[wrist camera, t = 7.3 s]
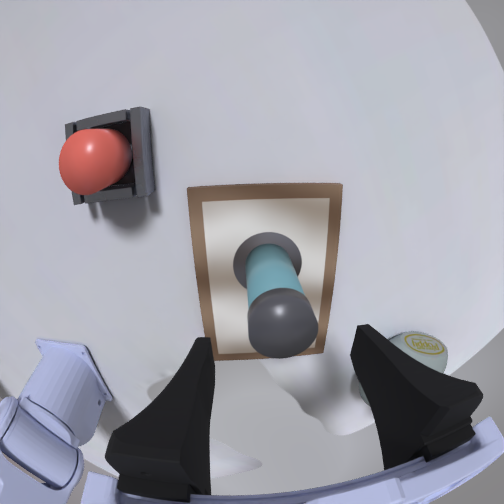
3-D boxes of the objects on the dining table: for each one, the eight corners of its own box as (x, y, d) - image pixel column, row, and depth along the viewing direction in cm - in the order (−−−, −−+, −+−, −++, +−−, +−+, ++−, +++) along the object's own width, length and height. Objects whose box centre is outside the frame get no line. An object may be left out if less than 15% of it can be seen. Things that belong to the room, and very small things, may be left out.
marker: (290, 283, 22) (314, 355, 15) (244, 286, 22) (249, 360, 14) (292, 241, 21) (322, 302, 13) (243, 243, 20) (247, 307, 13)
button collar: (154, 190, 19) (146, 196, 17) (86, 198, 19) (73, 204, 17) (149, 108, 17) (140, 106, 15) (78, 124, 17) (65, 124, 15)
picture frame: (321, 348, 26) (323, 354, 25) (209, 356, 26) (209, 362, 25) (339, 183, 20) (343, 185, 19) (188, 187, 19) (186, 189, 19)
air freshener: (340, 378, 28) (366, 450, 19) (376, 322, 25) (420, 396, 16) (407, 378, 30) (437, 434, 21) (441, 330, 27) (484, 385, 18)
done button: (134, 181, 17) (116, 190, 15) (86, 188, 17) (63, 198, 14) (129, 123, 16) (110, 123, 13) (80, 134, 16) (56, 137, 13)
